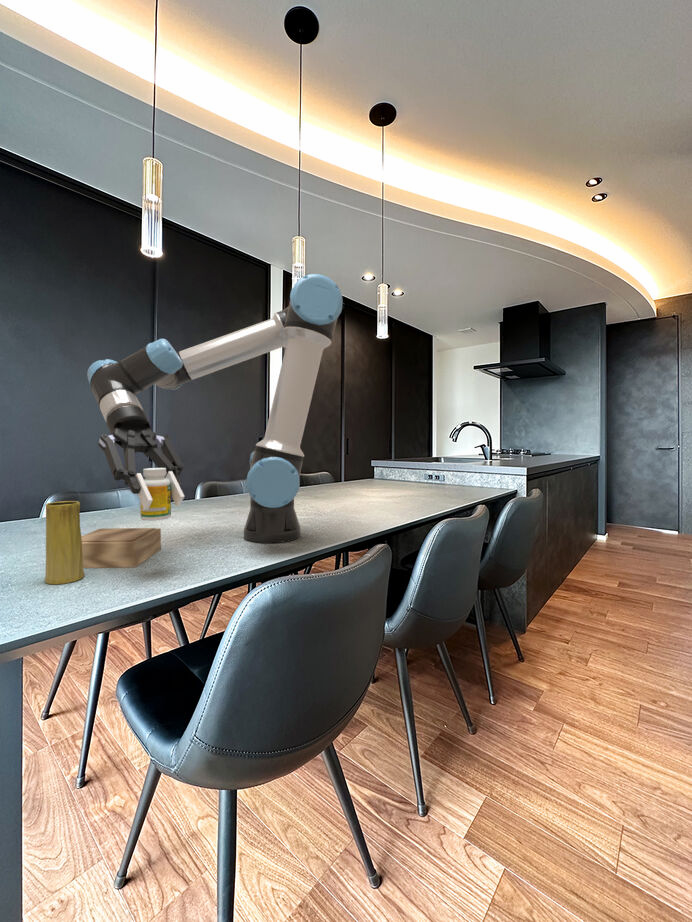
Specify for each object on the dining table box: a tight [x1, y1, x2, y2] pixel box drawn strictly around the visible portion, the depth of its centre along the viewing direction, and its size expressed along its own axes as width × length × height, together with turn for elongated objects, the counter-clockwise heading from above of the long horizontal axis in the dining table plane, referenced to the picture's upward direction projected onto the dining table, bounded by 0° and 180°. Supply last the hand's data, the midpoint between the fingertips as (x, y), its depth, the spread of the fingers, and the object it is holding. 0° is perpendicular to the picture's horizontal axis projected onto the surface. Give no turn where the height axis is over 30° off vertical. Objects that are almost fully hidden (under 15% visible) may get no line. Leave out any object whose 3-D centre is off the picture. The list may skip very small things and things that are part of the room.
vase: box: [44, 500, 85, 585], centre depth 77 cm, size 6×6×14 cm
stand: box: [81, 527, 162, 569], centre depth 91 cm, size 14×14×5 cm
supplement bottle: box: [139, 467, 172, 522], centre depth 79 cm, size 5×5×10 cm
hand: (164, 502), depth 77 cm, fingers closed on supplement bottle, 5 cm apart
